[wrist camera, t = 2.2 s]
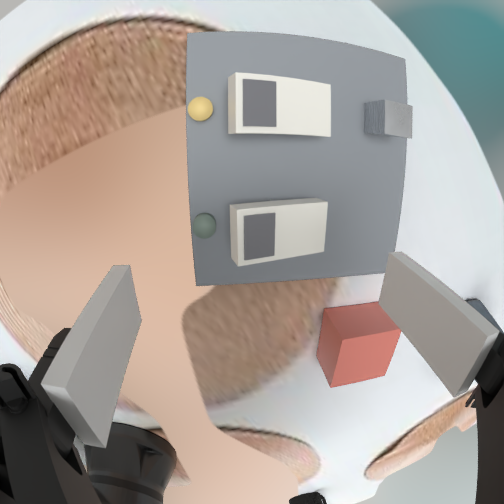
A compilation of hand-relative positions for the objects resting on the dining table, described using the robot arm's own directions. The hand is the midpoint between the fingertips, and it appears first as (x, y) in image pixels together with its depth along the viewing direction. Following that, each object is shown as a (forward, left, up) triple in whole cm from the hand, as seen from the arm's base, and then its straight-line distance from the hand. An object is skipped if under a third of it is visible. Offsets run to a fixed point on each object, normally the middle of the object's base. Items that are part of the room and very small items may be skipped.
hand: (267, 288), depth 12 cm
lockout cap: (+11, -13, -12) cm, 21 cm away
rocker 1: (+2, +8, -7) cm, 11 cm away
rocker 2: (+2, 0, -7) cm, 8 cm away
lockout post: (+10, +8, -10) cm, 16 cm away
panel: (+5, +5, -12) cm, 14 cm away
